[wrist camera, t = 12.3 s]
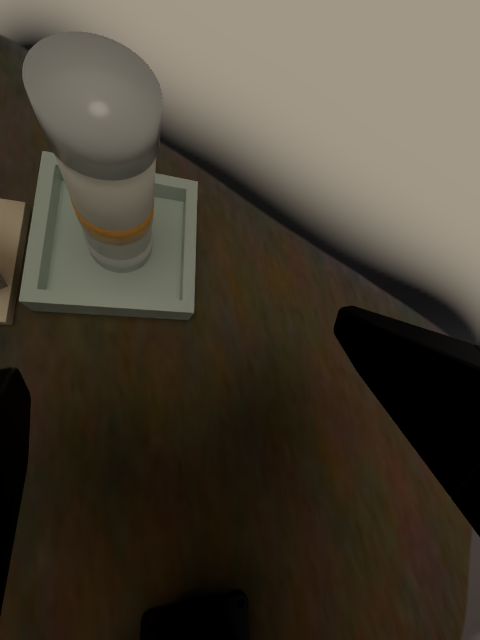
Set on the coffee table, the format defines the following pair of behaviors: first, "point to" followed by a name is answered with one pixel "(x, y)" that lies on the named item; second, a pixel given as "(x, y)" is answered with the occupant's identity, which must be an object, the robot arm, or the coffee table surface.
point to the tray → (92, 279)
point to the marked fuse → (101, 138)
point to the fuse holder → (11, 254)
